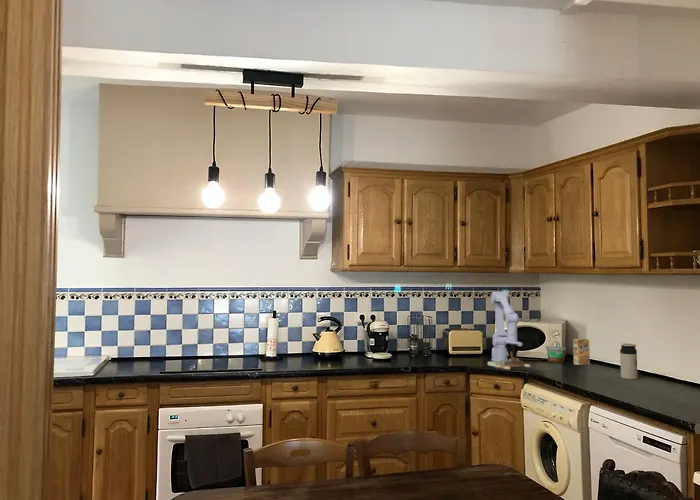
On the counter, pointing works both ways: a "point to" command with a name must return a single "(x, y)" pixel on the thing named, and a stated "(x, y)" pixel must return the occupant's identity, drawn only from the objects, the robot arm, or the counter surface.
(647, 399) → the counter surface
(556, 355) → the food container
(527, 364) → the slot rails
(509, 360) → the light grey cube
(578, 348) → the candy box
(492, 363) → the tray
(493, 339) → the robot arm
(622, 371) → the travel mug
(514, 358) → the l-shaped wooden block
